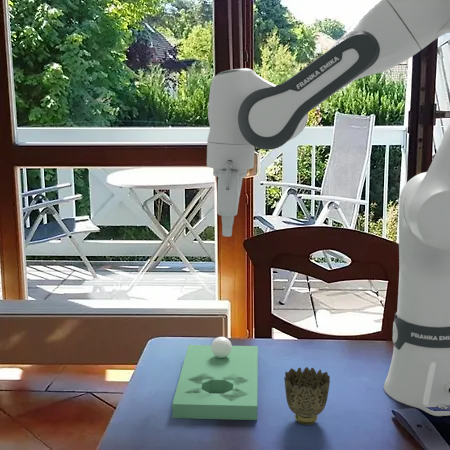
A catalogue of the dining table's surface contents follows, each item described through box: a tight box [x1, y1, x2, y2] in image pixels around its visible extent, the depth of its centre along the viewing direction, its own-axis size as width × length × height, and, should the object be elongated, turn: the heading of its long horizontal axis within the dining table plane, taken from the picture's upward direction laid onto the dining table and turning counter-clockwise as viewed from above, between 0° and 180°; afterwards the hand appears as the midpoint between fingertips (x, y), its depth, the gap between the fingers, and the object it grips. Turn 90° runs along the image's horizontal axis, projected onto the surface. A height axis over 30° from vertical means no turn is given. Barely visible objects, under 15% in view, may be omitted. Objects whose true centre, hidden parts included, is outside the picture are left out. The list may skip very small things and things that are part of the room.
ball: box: [210, 336, 233, 358], centre depth 131 cm, size 4×4×4 cm
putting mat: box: [171, 344, 259, 421], centre depth 125 cm, size 14×26×2 cm, turn 177°
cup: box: [283, 366, 331, 426], centre depth 111 cm, size 8×7×8 cm
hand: (228, 230), depth 130 cm, fingers open, 8 cm apart
